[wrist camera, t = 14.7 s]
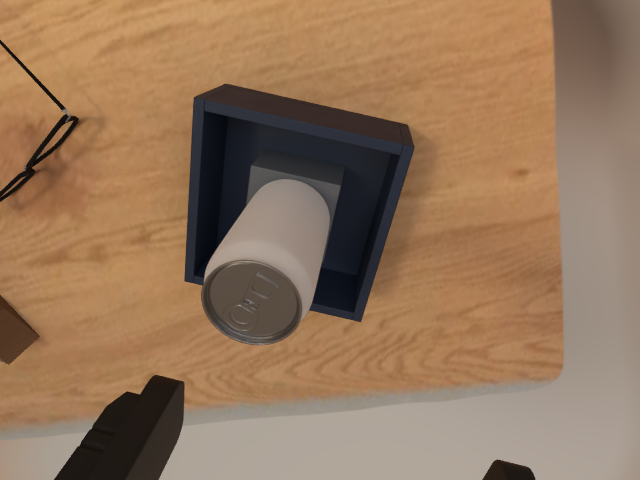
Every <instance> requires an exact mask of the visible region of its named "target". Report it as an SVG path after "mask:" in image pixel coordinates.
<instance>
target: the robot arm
mask: <svg viewBox="0 0 640 480" xmlns="http://www.w3.org/2000/svg"><path fill="white" fill-rule="evenodd" d="M183 415H184V382H183V381H179V380H175V379H171V378H167V377H163V376H159V375H154V376H153V377H152V378H151V379H150V380H149V382H148V383H147V385H146V386H145V388H144V389H143V391H142V392H141V394H140V395H139V394H135V393H131V392H125V393H124V394H123V395H121V396H120V397H119V398H117V399H116V400H114V401H113V402H112V403H110V404H109V405H108V406H107V407H106V408H105V409H104V411H103V412H102V414H101V415H100V416H99V418H98V419H97V421H96V422H95V423H94V425H93V427H92V429H91V430H89V432H88V433H87V434H86V436H85V437H84V439H83V440H82V442H81V444H80V446H78V447H77V448H76V450H75V451H74V453H73V454H72V455H71V457H70V458H69V460H68V461H67V462H66V464H65V465H64V467H63V468H62V469H61V471H60V472H59V474H58V475H57V477H56V478H55V479H54V480H158V479H159V477H160V476H161V473H162V471H163V469H164V467H165V465H166V463H167V461H168V459H169V457H170V455H171V453H172V451H173V449H174V447H175V445H176V443H177V440H178V438H179V435H180V432H181V428H182V424H183ZM483 480H535V477H534V474H533V472H532V471H531V469H530V468H528V467H526V466H522V465H518V464H514V463H509V462H505V461H501V460H495V461H494V462H493V463H492V465H491V467H490V468H489V470H488V471H487V473H486V475H485V476H484V478H483Z"/></svg>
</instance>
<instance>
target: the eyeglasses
mask: <svg viewBox="0 0 640 480" xmlns="http://www.w3.org/2000/svg"><path fill="white" fill-rule="evenodd" d="M0 44H1V45H2V46H3V47H4V48H5V49H6V50H7V52H8V53H9V54H10V55H11V56H12V57H13V58H14V59H15V60H16V61H17V62H18V63H19V64H20V66H21V67H22V68H23V69H24V70H25V71H26V72H27V73H28V74H29V75H30V76H31V77H32V78H33V80H34V81H35V82H36V83H37V84H38V85H39V86H40V87H41V88H42V89H43V90H44V91H45V92H46V94H47V95H48V96H49V97H50V98H51V99H52V100H53V101H54V102H55V103H56V104H57V105H58V106H59V108H60V109H61V110H62V112H66V114H65V115H64V116H63V117H62V118H61V119H60V120H59V122H58V123H57V124H56V125H55V127H54V128H53V129H52V131H51V132H50V133H49V135H48V136H47V137H46V139H45V140H44V141H43V142H42V144H41V145H40V146H39V148H38V149H37V151H36V152H35V153H34V155H33V156H32V158H31V159H30V160H29V162H28V163H27V165H26V166H24V169H25V171H23V172H21V173H20V174H19V175H17V176H16V177H15V178H14V179H13V180H12V181H11V182H10V183H9V184H8V185H7V186H6V187H5V188H4V189H3V190H1V191H0V202H1V201H2V200H4V199H5V198H7V197H8V196H9V195H11V194H12V193H13V192H15V191H16V190H17V189H18V188H19V187H21V186H22V185H23V184H24V183H25V182H26V181H27V180H28V179H29V178H30V177H31V176H32V175H33V174H34V173H35V170H34V169H32V167H33V166H35V165H36V164H38V163H39V162H40V161H42V160H43V159H44V158H46V157H47V156H48V155H50V154H51V153H52V152H53V151H54V150H56V149H57V148H58V147H59V146H60V145H61V144H62V142H63V141H64V140H65V139H66V138H67V136H68V135H69V134H70V132H71V131H72V130H73V128H74V127H75V126H76V124H77V122H78V120H79V119H78V118H77V117H75V116H71V115H70V114H69V113H68V112H67V109H66V108H65V107H64V106H63V105H62V104H61V103H60V102H59V101H58V100H57V99H56V98H55V97H54V96H53V95H52V94H51V92H50V91H49V90H48V89H47V88H46V87H45V86H44V85H43V84H42V83H41V82H40V81H39V80H38V79H37V78H36V77H35V76H34V75H33V74H32V73H31V72H30V70H29V69H28V68H27V67H26V66H25V65H24V64H23V63H22V62H21V61H20V60H19V59H18V58H17V57H16V56H15V55H14V54H13V53H12V52H11V51H10V49H9V48H8V47H7V46H6V45H5V44H4V43H3V42H2V41H1V40H0ZM73 120H74V121H73ZM70 121H73V123H72V124H71V126H70V127H69V129H68V130H67V131H66V133H65V134H64V135H63V136H62V138H61V139H60V140H59V141H58V142H57V143H56V144H55V145H54V146H53V147H52V148H51V149H50V150H48V151H47V152H46V153H44V154H43V155H42V156H41V155H40V153H41V152H42V150H43V149H44V148H45V146H46V145H47V144H48V143H49V141H50V140H51V139H52V138H53V136H54V135H55V134H56V132H57V131H58V130H59V129H60V128H61V127H62V126H63V125H64V124H65V123H67V122H70ZM27 174H28V175H27ZM26 175H27V176H26ZM25 176H26V177H25ZM22 177H25V178H24V179H23V180H22V181H21V182H20V183H19V184H18V185H16V186H15V187H14V188H13V189H12V190H10V191H9V192H8V193H6V194H5V195H3V194H4V193H5V192H6V191H7V190H9V189H10V188H11V187H12V186H13V185H14V184H15V183H16V182H17V181H18V180H19V179H21V178H22ZM2 195H3V196H2ZM1 196H2V197H1Z"/></svg>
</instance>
